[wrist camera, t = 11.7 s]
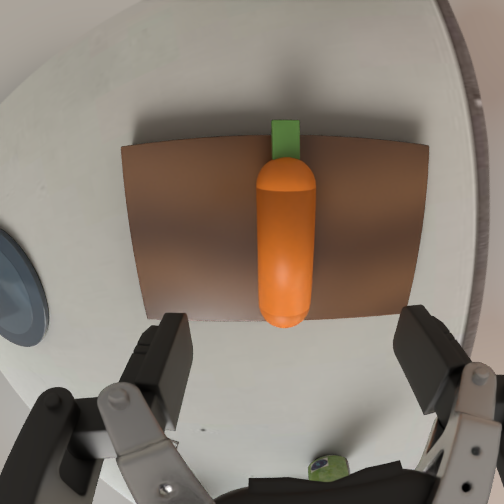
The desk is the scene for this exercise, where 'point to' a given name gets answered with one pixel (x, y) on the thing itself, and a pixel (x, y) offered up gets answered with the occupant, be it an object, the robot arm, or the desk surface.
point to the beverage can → (328, 468)
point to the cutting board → (245, 224)
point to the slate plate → (20, 296)
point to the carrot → (285, 229)
